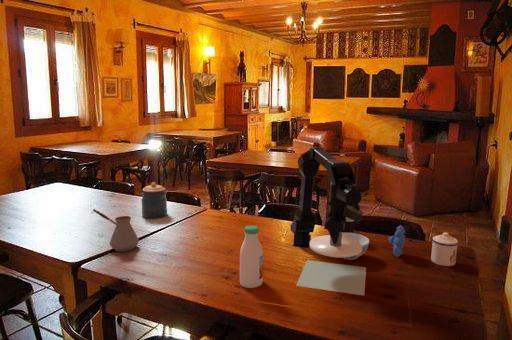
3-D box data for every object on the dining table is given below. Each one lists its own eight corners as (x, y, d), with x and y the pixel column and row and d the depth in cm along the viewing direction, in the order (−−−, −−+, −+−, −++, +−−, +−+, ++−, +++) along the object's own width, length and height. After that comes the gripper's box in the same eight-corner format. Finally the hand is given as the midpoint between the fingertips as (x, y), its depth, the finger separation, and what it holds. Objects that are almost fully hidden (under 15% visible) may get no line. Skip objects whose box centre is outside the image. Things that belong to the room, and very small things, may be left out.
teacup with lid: (454, 268, 152) (458, 238, 150) (428, 263, 156) (431, 234, 154) (457, 257, 162) (460, 229, 160) (433, 253, 166) (435, 225, 164)
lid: (305, 253, 137) (306, 239, 136) (313, 235, 154) (314, 222, 153) (360, 260, 132) (361, 245, 131) (362, 241, 149) (363, 228, 148)
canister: (164, 219, 207) (163, 185, 204) (138, 218, 207) (137, 184, 204) (169, 211, 220) (168, 179, 217) (145, 211, 220) (144, 179, 217)
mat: (295, 287, 136) (295, 285, 136) (306, 261, 157) (306, 260, 157) (364, 297, 130) (364, 295, 130) (366, 269, 151) (366, 267, 151)
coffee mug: (355, 244, 175) (356, 222, 173) (334, 242, 177) (335, 220, 175) (354, 235, 186) (355, 214, 185) (335, 233, 188) (336, 212, 186)
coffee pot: (144, 245, 172) (143, 211, 169) (127, 255, 161) (125, 218, 158) (104, 238, 179) (102, 205, 176) (84, 247, 169) (82, 212, 166)
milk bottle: (254, 291, 133) (255, 232, 129) (235, 285, 137) (235, 228, 133) (266, 282, 140) (267, 226, 136) (247, 276, 144) (248, 222, 140)
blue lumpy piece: (389, 248, 171) (391, 220, 169) (406, 251, 168) (409, 223, 166) (384, 258, 161) (386, 228, 159) (402, 261, 158) (404, 231, 156)
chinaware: (373, 255, 163) (374, 237, 162) (360, 268, 151) (362, 249, 149) (337, 247, 171) (338, 230, 170) (323, 259, 159) (324, 240, 157)
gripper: (360, 208, 129) (357, 254, 132) (363, 193, 146) (360, 235, 149) (325, 204, 132) (323, 250, 135) (332, 191, 149) (329, 231, 152)
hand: (335, 241), depth 143 cm, fingers closed on lid, 4 cm apart
